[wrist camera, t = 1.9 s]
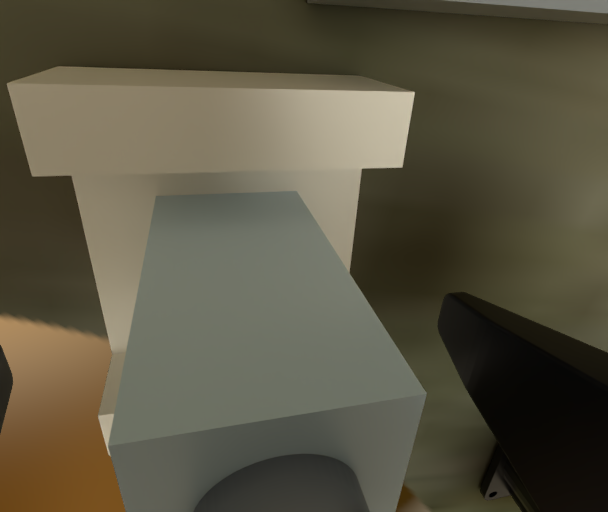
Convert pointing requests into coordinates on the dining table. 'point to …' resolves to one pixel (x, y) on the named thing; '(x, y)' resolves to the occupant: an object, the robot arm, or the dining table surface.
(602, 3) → the port panel
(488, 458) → the dining table surface
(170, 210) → the plug
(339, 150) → the holster
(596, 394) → the robot arm
